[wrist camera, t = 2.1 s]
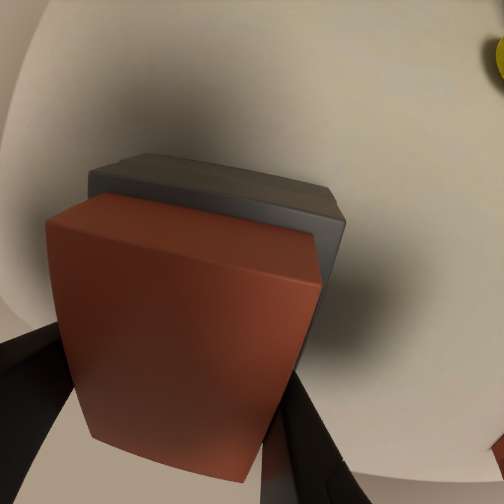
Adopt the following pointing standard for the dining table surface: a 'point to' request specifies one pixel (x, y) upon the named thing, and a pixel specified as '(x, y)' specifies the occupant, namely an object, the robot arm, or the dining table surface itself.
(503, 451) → the rust books
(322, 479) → the robot arm
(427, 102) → the dining table surface
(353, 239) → the dining table surface
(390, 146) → the dining table surface
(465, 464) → the dining table surface
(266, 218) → the grey books
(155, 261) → the rust red rectangular block
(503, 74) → the molecular model
